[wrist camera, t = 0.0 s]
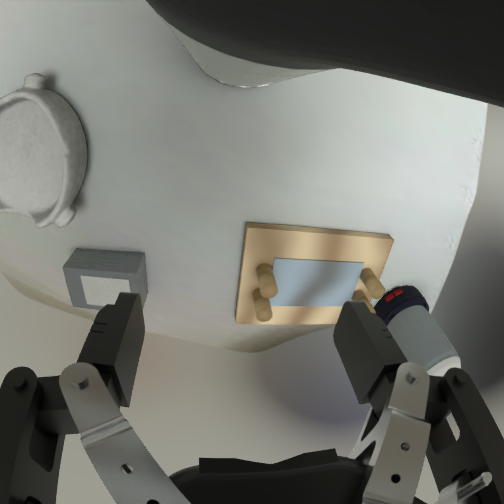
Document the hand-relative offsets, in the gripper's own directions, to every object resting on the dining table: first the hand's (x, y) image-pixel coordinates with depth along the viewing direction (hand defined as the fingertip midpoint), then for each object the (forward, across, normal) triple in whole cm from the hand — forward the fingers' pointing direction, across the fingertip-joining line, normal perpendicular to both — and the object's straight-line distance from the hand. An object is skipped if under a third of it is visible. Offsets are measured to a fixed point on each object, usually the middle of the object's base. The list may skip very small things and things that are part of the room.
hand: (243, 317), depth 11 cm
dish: (+18, +20, -4) cm, 27 cm away
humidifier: (+18, -24, +14) cm, 33 cm away
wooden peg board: (+18, -10, +9) cm, 22 cm away
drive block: (+18, +12, +10) cm, 24 cm away
